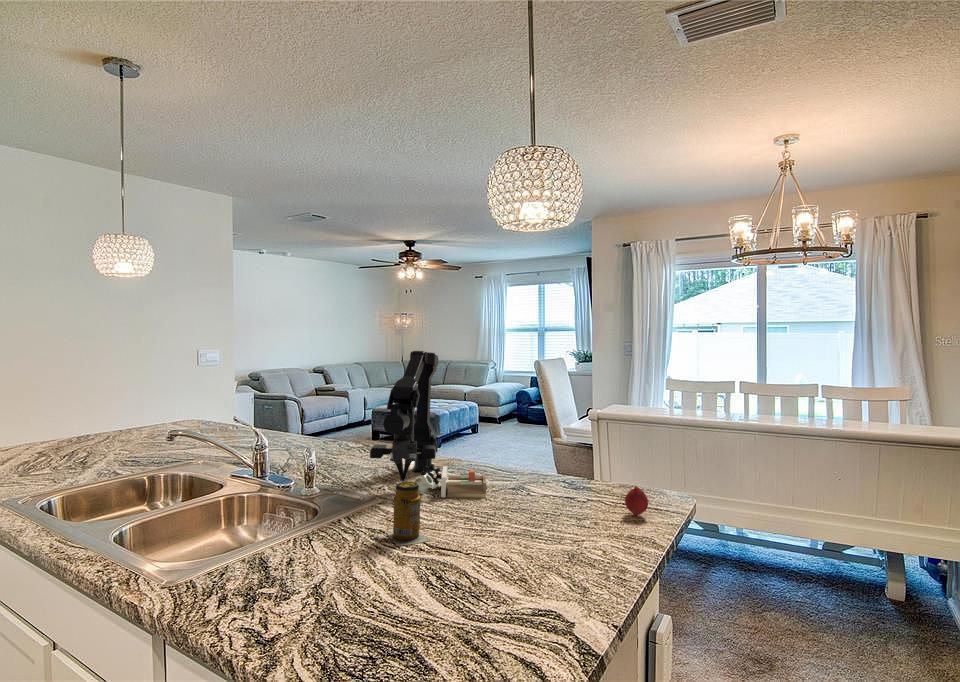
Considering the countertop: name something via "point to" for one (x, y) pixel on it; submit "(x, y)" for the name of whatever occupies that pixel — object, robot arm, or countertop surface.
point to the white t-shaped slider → (445, 482)
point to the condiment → (406, 515)
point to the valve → (428, 478)
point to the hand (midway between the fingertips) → (403, 480)
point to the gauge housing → (466, 486)
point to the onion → (636, 501)
